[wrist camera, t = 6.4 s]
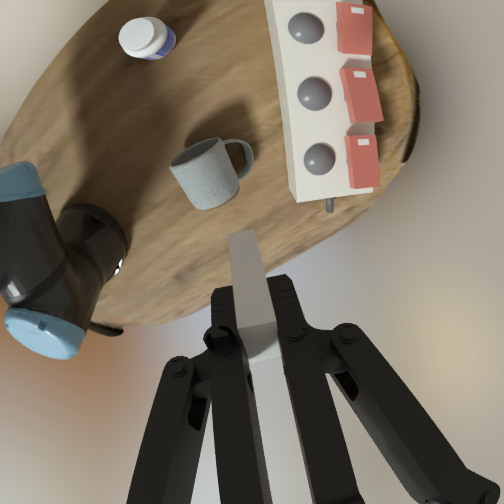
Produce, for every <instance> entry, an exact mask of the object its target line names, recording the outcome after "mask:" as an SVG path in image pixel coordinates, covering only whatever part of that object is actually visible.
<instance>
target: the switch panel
mask: <svg viewBox="0 0 504 504" xmlns="http://www.w3.org/2000/svg"><path fill="white" fill-rule="evenodd" d="M336 2H345V3H353V4H360V5H363V2H362V0H264V3H265V9H266V14H267V20H268V25H269V31H270V37H271V43H272V49H273V56H274V62H275V69H276V76H277V83H278V91H279V98H280V106H281V114H282V122H283V131H284V140H285V149H286V159H287V169H288V179H289V189H290V191H291V192H292V194H293V196H294V198H295V200H296V201H297V203H298V202H304V201H311V200H318V199H325V198H326V212H328V213H332V212H333V207H334V197H339V196H346V195H354V194H362V193H370V192H372V190H373V187H370V188H361V189H353V188H350V184H349V174H348V164H347V155H346V147H345V139H344V136H355V135H374V122H360V123H350V119H349V113H348V108H347V104H346V99H345V94H344V90H343V86H342V81H341V77H340V73H339V71H340V70H341V69H342V68H343V67H345V68H364V69H372V65H371V56H370V55H359V54H343V53H341V52H338V51H337V15H336Z"/></svg>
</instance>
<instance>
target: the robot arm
mask: <svg viewBox="0 0 504 504" xmlns="http://www.w3.org/2000/svg"><path fill="white" fill-rule="evenodd" d="M228 242H229V253H230V264H231V274H232V284H233V285H232V286H227V287H221V288H216V289H214V292H213V294H212V296H211V323H212V326H211V327H210V328H209V329H208V330H207V331H206V333H205V334H204V337H203V340H204V342H205V344H206V346H207V348H208V349H207V350H206V351H204V352H203V353H202V354H200V355H197V356H195V357H193V358H191V359H189V358H187V357H184V356H176V357H174V358H172V359H170V361H168V362H167V364H166V365H165V367H164V370H163V373H162V376H161V379H160V382H159V386H158V389H157V392H156V395H155V399H154V402H153V405H152V409H151V412H150V415H149V418H148V422H147V425H146V429H145V433H144V436H143V440H142V443H141V447H140V450H139V455H138V458H137V462H136V466H135V469H134V474H133V477H132V481H131V486H130V490H129V494H128V499H127V503H126V504H190V503H191V498H192V493H193V488H194V483H195V477H196V472H197V467H198V462H199V457H200V452H201V447H202V442H203V437H204V433H205V427H206V423H207V417H208V413H209V408H210V403H212V418H213V431H214V444H215V455H216V466H217V475H218V485H219V494H220V501H221V504H273V503H272V497H271V492H270V486H269V480H268V474H267V468H266V463H265V457H264V451H263V445H262V438H261V432H260V426H259V420H258V414H257V407H256V400H255V394H254V387H253V381H252V374H251V371H250V368H249V363H253V362H258V361H263V360H268V359H273V358H278V357H282V362H283V368H284V375H285V377H286V382H287V385H288V391H289V395H290V400H291V404H292V409H293V414H294V418H295V423H296V427H297V432H298V436H299V441H300V445H301V450H302V455H303V460H304V464H305V469H306V474H307V478H308V483H309V488H310V492H311V497H312V502H313V504H365V502H364V500H363V498H362V496H361V495H360V493H359V490H358V487H357V483H356V479H355V475H354V472H353V468H352V464H351V461H350V457H349V454H348V450H347V447H346V442H345V439H344V435H343V432H342V428H341V425H340V422H339V419H338V415H337V411H336V408H335V405H334V401H333V398H332V395H331V391H330V388H329V385H328V382H327V379H326V375H325V373H329V374H330V376H331V377H332V379H333V380H334V382H335V383H336V385H337V386H338V388H339V389H340V391H341V392H342V394H343V395H344V397H345V398H346V400H347V401H348V403H349V404H350V406H351V407H352V409H353V411H354V412H355V414H356V415H357V417H358V418H359V420H360V421H361V423H362V424H363V426H364V427H365V429H366V430H367V432H368V433H369V435H370V436H371V438H372V439H373V441H374V443H375V444H376V445H377V447H378V449H379V450H380V452H381V453H382V455H383V456H384V458H385V459H386V461H387V462H388V464H389V465H390V467H391V468H392V470H393V471H394V473H395V474H396V476H397V477H398V479H399V480H400V482H401V483H402V484H403V486H404V488H405V489H406V491H407V492H408V493H409V495H410V496H411V497H412V498H413V499H414V500H415V501H417V502H418V503H419V504H497V502H498V500H499V497H500V487H499V486H498V485H497V484H496V483H495V482H492V481H490V480H488V479H486V478H484V477H482V476H480V475H478V474H476V473H475V472H472V471H471V470H469V469H467V468H466V467H465V465H464V464H463V462H462V461H461V459H460V458H459V457H458V455H457V454H456V452H455V451H454V449H453V448H452V447H451V445H450V444H449V442H448V441H447V439H446V438H445V437H444V435H443V434H442V433H441V431H440V430H439V428H438V427H437V426H436V424H435V423H434V422H433V420H432V419H431V418H430V416H429V415H428V414H427V412H426V411H425V410H424V408H423V407H422V406H421V404H420V403H419V402H418V400H417V399H416V398H415V396H414V395H413V394H412V392H411V391H410V390H409V389H408V387H407V386H406V385H405V383H404V382H403V381H402V380H401V378H400V377H399V376H398V375H397V373H396V372H395V371H394V370H393V368H392V367H391V366H390V364H389V363H388V362H387V361H386V359H385V358H384V357H383V356H382V354H381V353H380V352H379V351H378V349H377V348H376V347H375V346H374V344H373V343H372V342H371V341H370V339H369V338H368V337H367V336H366V335H365V333H364V332H363V331H362V330H361V329H360V328H359V327H358V326H357V325H355V324H352V323H343V324H340V325H338V326H336V327H335V328H334V329H333V330H320V329H316V328H313V327H311V326H310V325H309V324H308V323H307V322H306V320H305V318H304V315H303V312H302V309H301V306H300V303H299V300H298V297H297V294H296V291H295V288H294V285H293V282H292V280H291V279H290V278H289V277H288V276H287V275H286V274H283V275H279V276H273V277H268V278H266V276H265V272H264V268H263V264H262V259H261V255H260V251H259V247H258V243H257V239H256V235H255V231H254V229H253V230H248V231H243V232H238V233H233V234H228ZM126 252H127V244H126V239H125V236H124V233H123V231H122V229H121V227H120V226H119V224H118V223H117V222H116V221H115V220H114V219H113V218H112V217H111V216H110V215H109V214H108V213H106V212H105V211H103V210H102V209H100V208H97V207H95V206H92V205H86V204H79V205H74V206H71V207H69V208H68V209H66V210H65V211H64V212H63V213H62V214H61V215H60V216H59V218H58V219H57V220H56V222H55V220H54V218H53V215H52V212H51V210H50V207H49V204H48V201H47V198H46V191H45V189H44V188H43V186H42V184H41V181H40V178H39V176H38V173H37V170H36V168H35V166H34V165H33V164H32V163H30V162H28V161H21V162H17V163H14V164H11V165H8V166H6V167H3V168H0V294H1V295H2V297H3V298H4V300H5V301H6V303H7V305H8V307H9V308H8V309H7V310H6V312H5V318H4V321H5V326H6V328H7V329H8V331H9V332H10V333H11V335H12V336H13V337H14V338H15V339H16V340H18V341H19V342H20V343H21V344H23V345H24V346H26V347H28V348H29V349H31V350H33V351H35V352H37V353H39V354H41V355H44V356H47V357H50V358H55V359H69V358H72V357H74V356H75V355H76V354H77V353H78V352H79V349H80V347H81V344H82V342H83V339H84V338H85V337H86V332H87V329H88V326H89V323H90V320H91V317H92V314H93V311H94V309H95V306H96V303H97V300H98V297H99V295H100V292H101V289H102V287H103V286H104V285H105V284H106V283H107V282H108V281H109V280H110V279H111V278H112V277H113V276H114V275H115V274H116V273H117V272H118V271H119V270H120V268H121V266H122V264H123V262H124V259H125V257H126Z"/></svg>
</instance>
